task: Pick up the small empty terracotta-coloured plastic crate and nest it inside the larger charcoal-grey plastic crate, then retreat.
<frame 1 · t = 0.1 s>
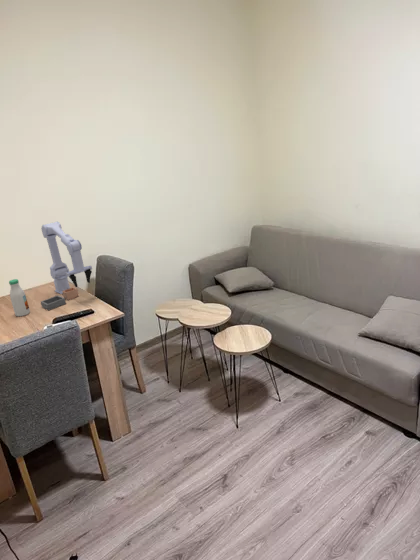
hand: (82, 284, 230), 10 cm above the table, fingers open, 7 cm apart
small crate: (71, 297, 240), on the table
milk bottle: (23, 314, 224), on the table
large crate: (54, 305, 231), on the table
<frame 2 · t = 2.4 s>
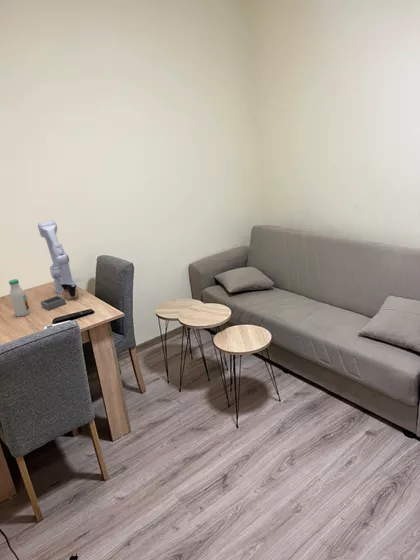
hand: (70, 295, 239), 1 cm above the table, fingers closed on small crate, 5 cm apart
small crate: (71, 297, 240), on the table, touching gripper
everything else where it was.
when the fingers open (4 cm above the table, at t = 5.9 s): small crate drops 2 cm, resting on large crate.
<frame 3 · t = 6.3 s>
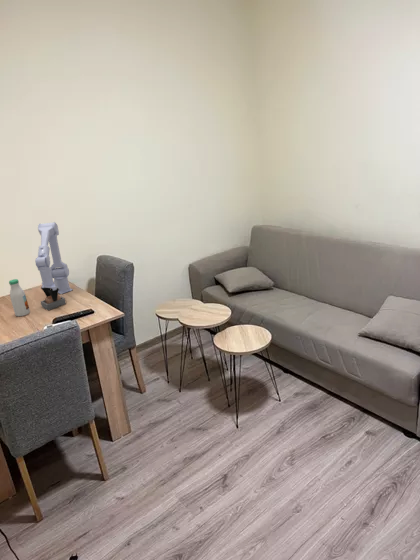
hand: (52, 299, 229), 4 cm above the table, fingers open, 7 cm apart
small crate: (54, 304, 231), resting on large crate
everything else where it was.
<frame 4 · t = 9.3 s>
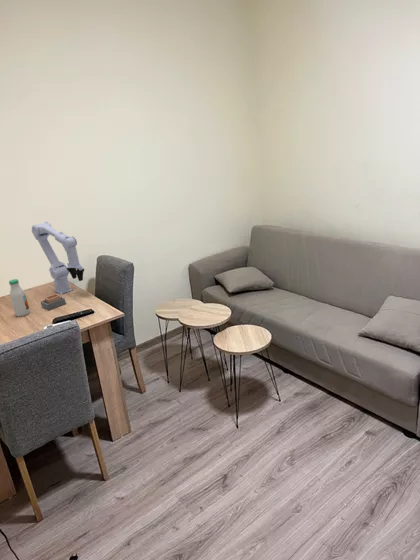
hand: (77, 279, 240), 10 cm above the table, fingers open, 7 cm apart
nothing on the table moved.
at the end: small crate 0.3 cm off-centre on the large crate, point 0.5 cm above the large crate's base; small crate tilted 0°; the gripper is holding nothing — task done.
